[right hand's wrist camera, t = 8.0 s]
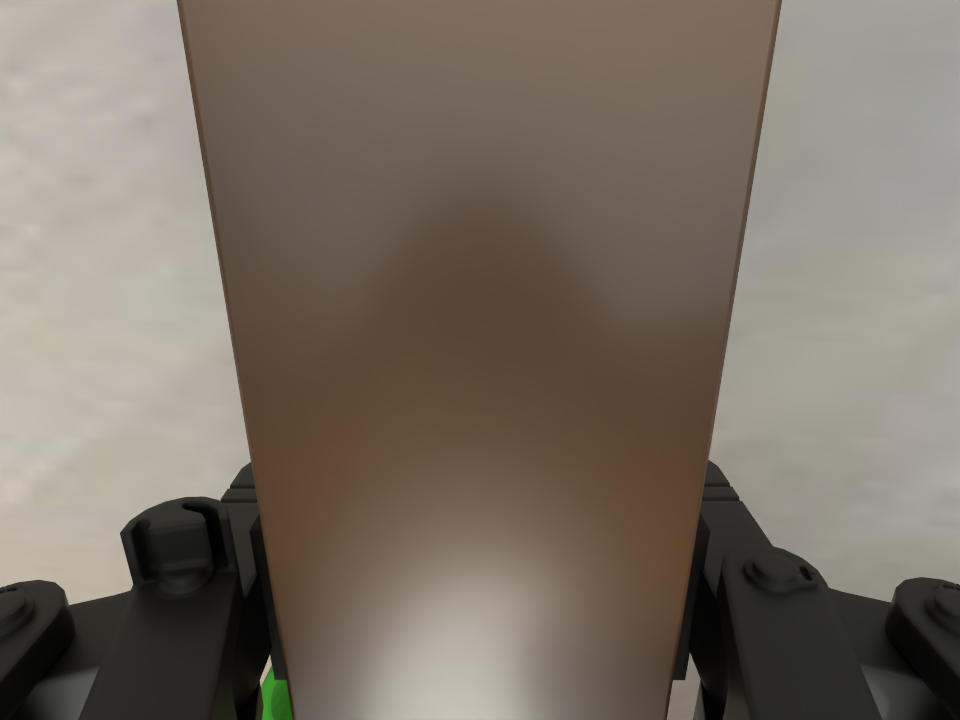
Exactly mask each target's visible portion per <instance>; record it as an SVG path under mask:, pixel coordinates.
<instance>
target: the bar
mask: <svg viewBox="0 0 960 720" xmlns="http://www.w3.org/2000/svg"><path fill="white" fill-rule="evenodd" d="M781 3H782V0H177V5H178V11H179V17H180V23H181V29H182V36H183V42H184V48H185V54H186V61H187V67H188V73H189V79H190V85H191V92H192V98H193V104H194V110H195V116H196V123H197V129H198V135H199V141H200V147H201V154H202V160H203V166H204V172H205V178H206V185H207V191H208V197H209V203H210V209H211V216H212V222H213V228H214V234H215V240H216V247H217V253H218V259H219V265H220V271H221V278H222V284H223V290H224V296H225V303H226V309H227V315H228V321H229V327H230V334H231V340H232V346H233V352H234V358H235V365H236V371H237V377H238V383H239V389H240V396H241V402H242V408H243V414H244V420H245V427H246V433H247V439H248V445H249V451H250V458H251V464H252V470H253V476H254V482H255V489H256V495H257V501H258V507H259V514H260V520H261V526H262V532H263V538H264V545H265V551H266V557H267V563H268V569H269V576H270V582H271V588H272V594H273V600H274V607H275V613H276V619H277V625H278V631H279V638H280V644H281V650H282V656H283V662H284V669H285V675H286V681H287V687H288V693H289V700H290V706H291V712H292V718H293V720H666V719H667V713H668V707H669V701H670V694H671V688H672V682H673V676H674V670H675V663H676V657H677V651H678V645H679V638H680V632H681V626H682V620H683V613H684V607H685V601H686V595H687V589H688V582H689V576H690V570H691V564H692V557H693V551H694V545H695V539H696V532H697V526H698V520H699V514H700V508H701V501H702V495H703V489H704V483H705V476H706V470H707V464H708V458H709V451H710V445H711V439H712V433H713V427H714V420H715V414H716V408H717V402H718V395H719V389H720V383H721V377H722V370H723V364H724V358H725V352H726V346H727V339H728V333H729V327H730V321H731V314H732V308H733V302H734V296H735V289H736V283H737V277H738V271H739V265H740V258H741V252H742V246H743V240H744V233H745V227H746V221H747V215H748V209H749V202H750V196H751V190H752V184H753V177H754V171H755V165H756V159H757V152H758V146H759V140H760V134H761V128H762V121H763V115H764V109H765V103H766V96H767V90H768V84H769V78H770V71H771V65H772V59H773V53H774V47H775V40H776V34H777V28H778V22H779V15H780V9H781Z"/></svg>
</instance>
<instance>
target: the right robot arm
mask: <svg viewBox="0 0 960 720" xmlns="http://www.w3.org/2000/svg"><path fill="white" fill-rule="evenodd" d="M120 535H121V539H122V543H123V547H124V550H125V554H126V558H127V562H128V565H129V569H130V573H131V577H132V580H133V586H132V589H131V591H128V592H124V593H121V594H117V595H113V596H109V597H104V598H100V599H95V600H91V601H86V602H82V603H77V604H73V605H69V604H68V600H67V597H66V594H65V591H64V590H63V589H62V588H61V587H60V586H59V585H57V584H56V583H55V582H49V581H43V580H34V581H26V582H18V583H14V584H11V585H7V586H5V587H1V588H0V720H262V716H263V706H264V705H263V698H262V691H261V686H260V678H261V675H262V673H263V670H264V668H265V665H266V663H267V660H268V658H269V655H270V656H271V662H272V668H273V674H274V679H275V680H286V675H285V669H284V662H283V656H282V650H281V644H280V638H279V631H278V625H277V619H276V613H275V607H274V600H273V594H272V588H271V582H270V576H269V569H268V563H267V557H266V551H265V545H264V538H263V532H262V526H261V520H260V514H259V507H258V501H257V495H256V489H255V482H254V476H253V470H252V464H251V462H250V463H249V464H248V465H246V466H245V467H243V468H242V469H241V470H240V472H239V473H238V475H237V476H236V478H235V479H234V481H233V482H232V484H231V485H230V489H227V491H226V492H225V494H224V495H223V497H222V498H221V502H220V501H219V500H216V499H212V498H208V497H184V498H180V499H175V500H171V501H166V502H163V503H161V504H159V505H156V506H154V507H151V508H149V509H147V510H145V511H143V512H142V513H141V514H139V515H138V516H136V517H135V518H133V519H132V520H130V521H129V522H128V524H127V525H126V526H125V527H124V529H123V530H122V531H121V532H120ZM690 653H691V656H692V658H693V661H694V663H695V666H696V668H697V671H698V673H699V676H700V678H701V680H700V686H699V691H698V696H697V702H696V707H695V713H694V718H693V720H960V585H959V584H954V583H952V582H948V581H945V580H940V579H932V578H924V577H920V578H914V579H908V580H904V581H903V582H902V583H901V584H900V585H899V586H897V587H896V589H895V593H894V596H893V599H892V602H891V603H890V602H885V601H881V600H876V599H872V598H867V597H863V596H858V595H854V594H849V593H845V592H841V591H838V590H834V589H831V588H828V585H827V583H826V582H825V580H824V579H823V577H822V576H821V574H820V573H819V572H818V570H817V569H815V568H814V567H813V566H812V565H810V564H809V563H808V562H807V561H805V560H804V559H803V558H801V557H799V556H797V555H795V554H792V553H790V552H788V551H786V550H784V549H780V548H776V547H773V546H772V544H771V543H770V541H769V540H768V538H767V537H766V535H765V534H764V533H763V531H762V530H761V528H760V527H759V525H758V524H757V522H756V521H755V519H754V518H753V517H752V515H751V514H750V512H749V511H748V509H747V508H746V506H745V505H744V503H743V502H742V501H740V500H739V496H738V495H737V493H736V492H735V490H734V489H733V487H730V483H729V482H728V480H727V479H726V477H725V476H724V474H723V473H722V471H721V470H720V469H719V467H718V466H717V465H715V464H714V463H712V462H711V461H709V460H708V464H707V470H706V476H705V483H704V489H703V495H702V501H701V508H700V514H699V520H698V526H697V532H696V539H695V545H694V551H693V557H692V564H691V570H690V576H689V582H688V589H687V595H686V601H685V607H684V613H683V620H682V626H681V632H680V638H679V645H678V651H677V657H676V663H675V670H674V676H673V680H685V677H686V671H687V665H688V660H689V654H690Z"/></svg>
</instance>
